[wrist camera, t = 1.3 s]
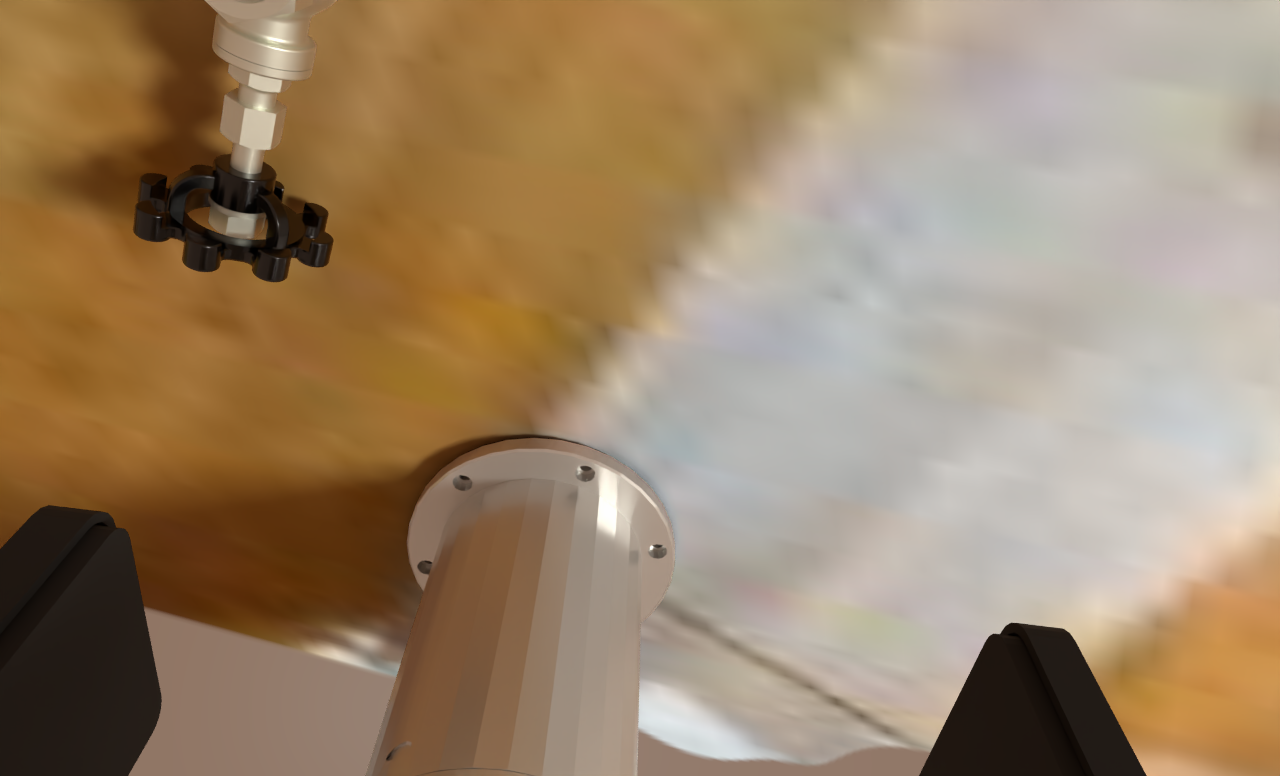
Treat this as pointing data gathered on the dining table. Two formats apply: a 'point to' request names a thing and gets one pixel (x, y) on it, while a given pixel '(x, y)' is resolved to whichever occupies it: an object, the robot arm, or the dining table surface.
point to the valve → (245, 152)
